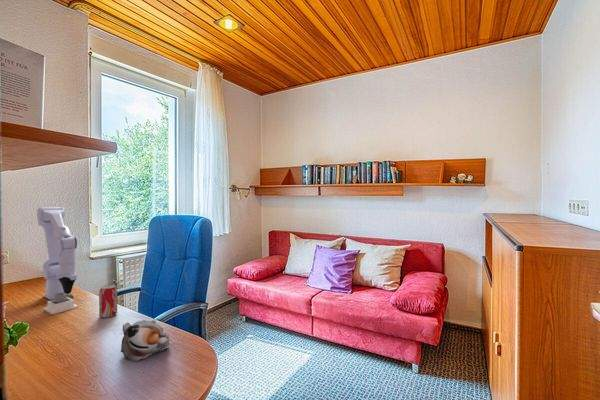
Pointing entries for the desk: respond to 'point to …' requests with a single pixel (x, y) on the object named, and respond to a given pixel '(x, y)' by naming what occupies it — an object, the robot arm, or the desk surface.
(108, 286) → the beverage can
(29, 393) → the desk surface
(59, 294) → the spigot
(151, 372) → the desk surface
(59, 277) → the robot arm
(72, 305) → the dock
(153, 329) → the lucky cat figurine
